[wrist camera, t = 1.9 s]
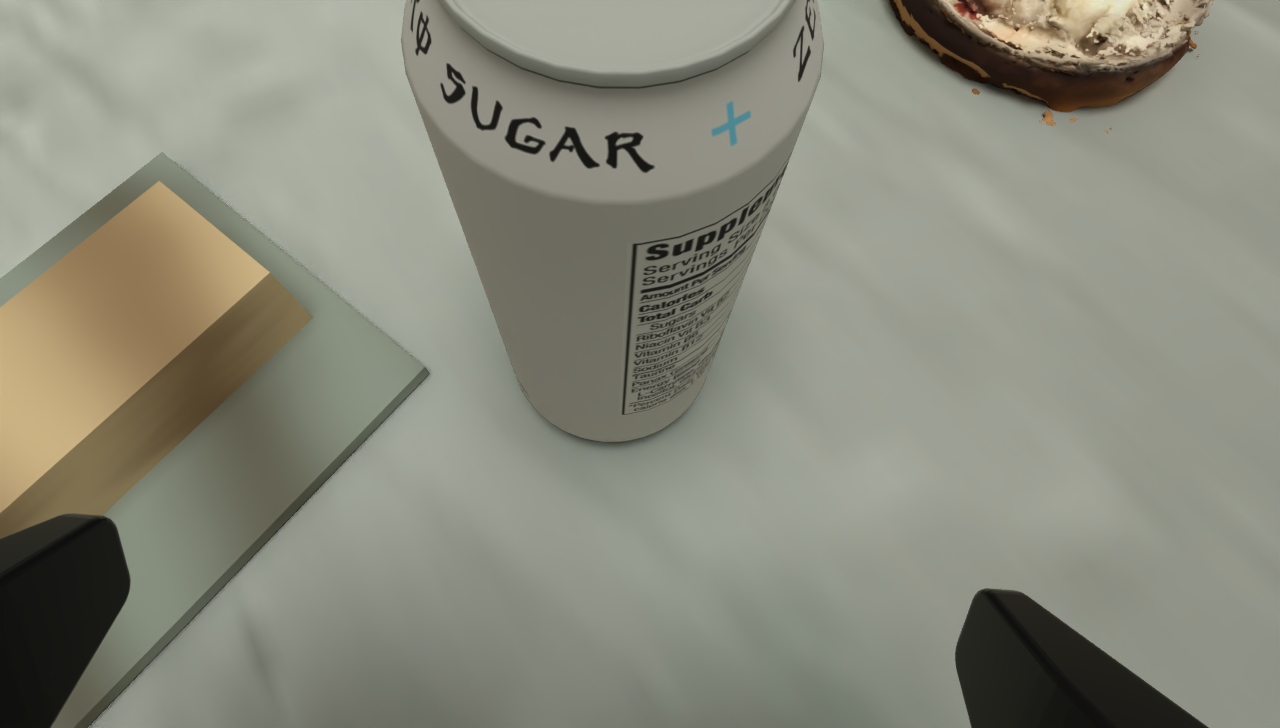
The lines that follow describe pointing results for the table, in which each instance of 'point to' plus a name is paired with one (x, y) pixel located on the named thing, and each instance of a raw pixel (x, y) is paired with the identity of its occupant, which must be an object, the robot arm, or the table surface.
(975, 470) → the table surface
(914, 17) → the brown and white disc
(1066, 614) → the table surface
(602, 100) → the energy drink can
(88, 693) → the ridge
